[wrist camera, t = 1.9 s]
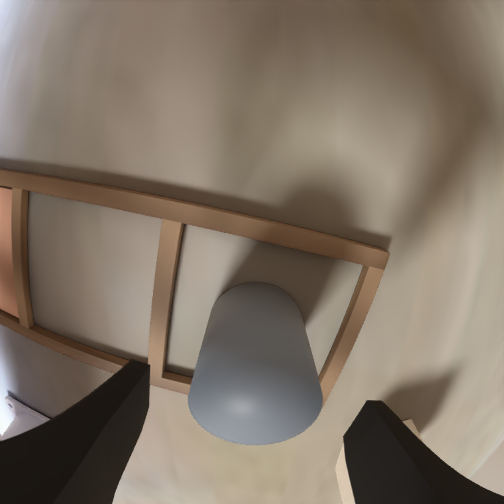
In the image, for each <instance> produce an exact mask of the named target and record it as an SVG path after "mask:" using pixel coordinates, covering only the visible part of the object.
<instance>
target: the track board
mask: <svg viewBox="0 0 504 504" xmlns="http://www.w3.org/2000/svg"><path fill="white" fill-rule="evenodd" d="M0 185H2V186H7V187H12V188H13V189H12V188H7V187H2V186H0V323H1V324H2V325H4V326H6V327H8V328H10V329H12V330H14V331H15V332H17V333H19V334H21V335H23V336H25V337H27V338H29V339H31V340H34V341H36V342H38V343H40V344H42V345H44V346H46V347H49V348H51V349H53V350H55V351H58V352H60V353H62V354H65V355H67V356H69V357H72V358H74V359H77V360H79V361H82V362H84V363H87V364H90V365H92V366H95V367H98V368H100V369H103V370H106V371H109V372H112V373H116V372H117V371H119V370H120V369H121V368H122V367H123V366H124V365H125V364H126V363H128V362H129V360H126V359H123V358H119V357H116V356H113V355H110V354H107V353H105V352H102V351H99V350H96V349H93V348H91V347H88V346H85V345H83V344H80V343H77V342H75V341H72V340H70V339H67V338H65V337H62V336H60V335H57V334H55V333H53V332H50V331H48V330H46V329H43V328H41V327H39V326H37V325H34V321H33V314H32V307H31V298H30V288H29V276H28V258H27V210H28V192H29V191H32V192H37V193H42V194H47V195H52V196H57V197H62V198H67V199H71V200H76V201H81V202H86V203H91V204H96V205H100V206H105V207H110V208H115V209H119V210H124V211H129V212H133V213H138V214H143V215H147V216H152V217H157V218H161V219H163V221H162V228H161V234H160V241H159V248H158V256H157V264H156V272H155V281H154V290H153V300H152V310H151V322H150V336H149V352H148V364H149V365H150V385H153V386H157V387H160V388H164V389H168V390H171V391H175V392H179V393H183V394H187V395H188V394H189V390H190V386H191V383H192V379H193V378H191V377H186V376H182V375H178V374H174V373H171V372H167V371H164V369H165V358H166V348H167V338H168V329H169V321H170V312H171V304H172V297H173V289H174V282H175V275H176V269H177V262H178V256H179V249H180V243H181V237H182V232H183V226H184V224H188V225H193V226H198V227H202V228H207V229H211V230H215V231H220V232H224V233H229V234H233V235H238V236H242V237H246V238H251V239H255V240H260V241H264V242H268V243H273V244H277V245H281V246H286V247H290V248H294V249H299V250H303V251H307V252H311V253H316V254H320V255H324V256H328V257H332V258H337V259H341V260H345V261H349V262H353V263H358V264H362V265H364V266H363V269H362V272H361V274H360V277H359V280H358V283H357V286H356V288H355V291H354V294H353V296H352V299H351V302H350V304H349V307H348V309H347V312H346V314H345V317H344V320H343V322H342V324H341V327H340V329H339V332H338V334H337V337H336V339H335V341H334V344H333V346H332V348H331V351H330V353H329V355H328V357H327V360H326V362H325V364H324V366H323V369H322V371H321V373H320V375H319V377H318V378H319V382H320V386H321V390H322V394H323V405H324V404H325V402H326V400H327V398H328V396H329V394H330V392H331V390H332V389H333V387H334V385H335V383H336V381H337V379H338V377H339V375H340V373H341V371H342V369H343V367H344V365H345V363H346V360H347V358H348V356H349V354H350V352H351V350H352V348H353V346H354V343H355V341H356V339H357V337H358V334H359V332H360V330H361V328H362V325H363V323H364V321H365V318H366V316H367V313H368V311H369V309H370V306H371V304H372V301H373V299H374V296H375V293H376V291H377V288H378V286H379V283H380V280H381V278H382V275H383V272H384V269H385V267H386V264H387V261H388V258H389V255H390V253H389V252H388V251H386V250H385V249H382V248H378V247H374V246H371V245H367V244H363V243H359V242H355V241H352V240H348V239H344V238H340V237H336V236H332V235H328V234H325V233H321V232H317V231H313V230H309V229H305V228H300V227H296V226H292V225H288V224H284V223H280V222H276V221H271V220H267V219H263V218H259V217H254V216H250V215H246V214H241V213H237V212H232V211H228V210H223V209H219V208H214V207H210V206H205V205H200V204H196V203H191V202H186V201H182V200H177V199H172V198H167V197H162V196H157V195H152V194H147V193H142V192H137V191H132V190H126V189H121V188H116V187H110V186H105V185H99V184H94V183H88V182H82V181H77V180H71V179H65V178H59V177H53V176H47V175H40V174H34V173H27V172H21V171H14V170H7V169H0ZM323 405H322V407H323Z"/></svg>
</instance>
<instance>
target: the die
mask: <svg viewBox="0 0 504 504" xmlns="http://www.w3.org/2000/svg"><path fill="white" fill-rule="evenodd" d="M402 422H403V423H404V424H405V425H406V426H407V427H408V428H409V429H410V430H411V431H412V432H413V433H414V434H415V435H416V436H417V437H418V438H419V439H420V440H421V441H422V439H421V437H420V435H419V433H418V431H417V429H416V427H415V425H414V423H413V421H412V419H409V420H405V421H402ZM422 442H423V441H422ZM335 470H336V475H337V479H338V484H339V489H340V494H341V499H342V503H343V504H355V501H354V496H353V492H352V488H351V483H350V479H349V475H348V470H347V466H346V461H345V453H344V442H343V445H342V448H341V451H340V454H339V457H338V460H337V463H336V466H335Z"/></svg>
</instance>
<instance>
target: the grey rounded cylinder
mask: <svg viewBox="0 0 504 504" xmlns="http://www.w3.org/2000/svg"><path fill="white" fill-rule="evenodd" d="M188 405H189V409H190V412H191V414H192V416H193V417H194V419H195V420H196V421H197V423H198V424H199V425H200V426H201V427H202V428H204V429H205V430H206V431H208V432H209V433H211V434H212V435H214V436H216V437H218V438H221V439H223V440H226V441H229V442H233V443H238V444H244V445H267V444H273V443H278V442H282V441H285V440H288V439H290V438H292V437H295V436H296V435H298V434H300V433H302V432H303V431H305V430H306V429H307V428H308V427H309V426H311V425H312V423H313V422H314V421H315V420H316V419H317V417H318V416H319V413H320V411H321V409H322V405H323V394H322V390H321V386H320V382H319V378H318V374H317V371H316V367H315V363H314V359H313V355H312V352H311V348H310V344H309V341H308V337H307V333H306V330H305V326H304V323H303V319H302V315H301V312H300V309H299V307H298V305H297V303H296V302H295V300H294V299H293V298H292V297H291V296H290V295H289V294H288V293H287V292H286V291H284V290H283V289H281V288H279V287H277V286H274V285H271V284H268V283H262V282H251V283H244V284H240V285H237V286H235V287H233V288H231V289H229V290H227V291H226V292H225V293H223V294H222V295H221V296H220V297H219V298H218V300H217V301H216V302H215V304H214V306H213V308H212V310H211V314H210V317H209V321H208V324H207V328H206V332H205V335H204V339H203V342H202V346H201V350H200V353H199V357H198V361H197V364H196V368H195V372H194V375H193V379H192V383H191V386H190V390H189V394H188Z"/></svg>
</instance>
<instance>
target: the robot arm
mask: <svg viewBox="0 0 504 504" xmlns="http://www.w3.org/2000/svg"><path fill="white" fill-rule="evenodd" d="M149 390H150V365H149V364H146V363H142V362H139V361H136V360H133V359H132V360H130V361H129V362H128V363H126V364H125V365H124V366H123V367H122V368H121V369H120V370H119V371H117V372H116V373H115V374H114V375H113V376H112V377H110V378H109V379H108V380H107V381H105V382H104V383H103V384H102V385H100V386H99V387H98V388H97V389H95V390H94V391H93V392H91V393H90V394H89V395H87V396H86V397H85V398H83V399H82V400H80V401H79V402H77V403H76V404H74V405H73V406H71V407H70V408H68V409H67V410H65V411H64V412H62V413H61V414H59V415H57V416H56V417H54V418H52V419H49V418H47V417H45V416H43V415H41V414H39V413H38V412H36V411H34V410H32V409H30V408H28V407H27V406H25V405H23V404H22V403H20V402H18V401H16V400H15V399H13V398H12V397H10V396H6V397H5V400H6V403H7V405H8V407H9V410H10V412H11V414H12V416H13V418H14V420H13V421H12V423H11V424H10V425H9V427H8V428H7V430H6V431H5V432H4V434H3V435H2V437H1V438H0V504H112V502H113V498H114V495H115V492H116V489H117V486H118V484H119V481H120V479H121V476H122V474H123V472H124V470H125V467H126V465H127V463H128V461H129V458H130V456H131V454H132V452H133V450H134V447H135V445H136V443H137V441H138V438H139V436H140V434H141V431H142V428H143V425H144V422H145V418H146V415H147V412H148V409H149ZM343 440H344V453H345V461H346V466H347V470H348V475H349V479H350V483H351V488H352V492H353V496H354V501H355V504H504V496H501V495H499V494H496V493H494V492H492V491H490V490H487V489H485V488H483V487H481V486H480V485H478V484H476V483H474V482H472V481H471V480H469V479H467V478H466V477H464V476H463V475H461V474H460V473H458V472H457V471H456V470H454V469H453V468H452V467H450V466H449V465H448V464H446V463H445V462H444V461H443V460H441V459H440V458H439V457H438V456H437V455H436V454H435V453H434V452H432V451H431V450H430V449H429V448H428V447H427V446H426V445H425V444H424V443H423V442H422V441H421V440H420V439H419V438H418V437H417V436H416V435H415V434H414V433H413V432H412V431H411V430H410V429H409V428H408V427H407V426H406V425H405V424H404V423H403V422H402V421H401V420H400V419H399V417H398V416H397V415H396V414H395V413H394V412H393V411H392V410H391V409H390V408H389V407H388V406H387V405H386V404H385V403H383V402H382V401H374V400H367V401H366V403H365V404H364V406H363V407H362V409H361V411H360V412H359V414H358V415H357V417H356V418H355V420H354V421H353V423H352V424H351V426H350V427H349V429H348V430H347V432H346V433H345V434H344V436H343Z"/></svg>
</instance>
